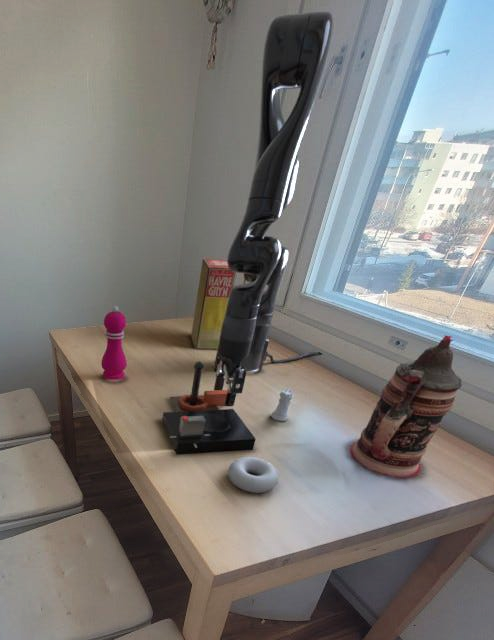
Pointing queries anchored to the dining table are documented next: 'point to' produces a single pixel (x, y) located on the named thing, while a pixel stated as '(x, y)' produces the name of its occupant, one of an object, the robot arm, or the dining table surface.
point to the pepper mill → (114, 345)
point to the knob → (191, 427)
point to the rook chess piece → (283, 406)
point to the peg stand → (193, 391)
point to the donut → (250, 482)
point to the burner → (214, 422)
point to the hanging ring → (205, 400)
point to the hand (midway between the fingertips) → (223, 398)
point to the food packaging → (211, 303)
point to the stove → (210, 434)
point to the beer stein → (408, 413)
